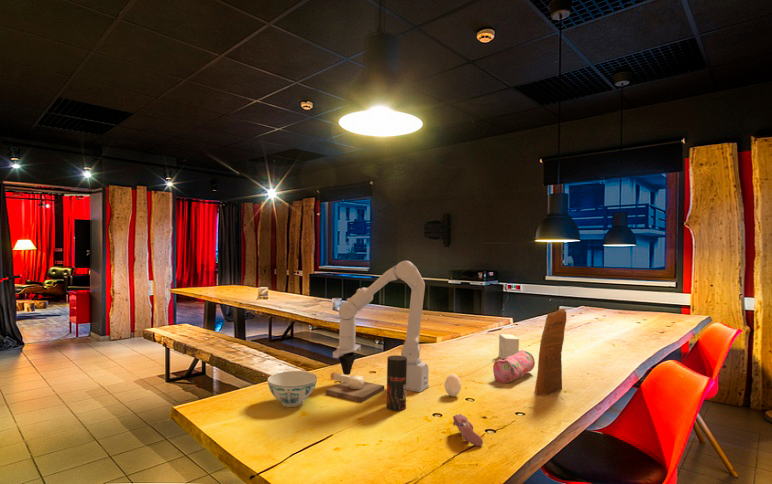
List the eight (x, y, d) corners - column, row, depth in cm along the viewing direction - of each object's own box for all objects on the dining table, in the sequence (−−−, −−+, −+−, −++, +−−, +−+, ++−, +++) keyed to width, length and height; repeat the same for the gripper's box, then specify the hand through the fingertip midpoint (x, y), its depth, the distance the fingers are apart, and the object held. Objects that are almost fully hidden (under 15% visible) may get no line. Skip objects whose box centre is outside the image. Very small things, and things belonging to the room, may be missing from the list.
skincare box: (519, 363, 186) (519, 338, 186) (504, 362, 186) (504, 338, 187) (512, 357, 197) (512, 334, 197) (498, 356, 197) (498, 333, 197)
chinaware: (325, 398, 138) (325, 374, 138) (301, 415, 124) (301, 388, 124) (284, 392, 143) (284, 369, 143) (256, 407, 128) (257, 381, 129)
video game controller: (458, 436, 115) (447, 413, 115) (473, 428, 115) (462, 405, 115) (468, 454, 105) (456, 428, 105) (485, 445, 106) (473, 419, 105)
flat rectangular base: (384, 390, 147) (384, 385, 147) (362, 402, 135) (362, 397, 135) (350, 383, 154) (350, 378, 154) (326, 394, 142) (326, 389, 142)
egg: (443, 397, 141) (443, 374, 141) (446, 392, 146) (446, 370, 146) (459, 399, 139) (459, 376, 139) (462, 394, 144) (462, 372, 144)
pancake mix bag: (572, 387, 154) (573, 308, 154) (546, 399, 141) (547, 313, 141) (554, 382, 159) (555, 306, 159) (527, 393, 146) (528, 311, 146)
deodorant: (404, 411, 128) (405, 360, 128) (384, 409, 129) (385, 359, 129) (407, 404, 133) (408, 356, 134) (388, 403, 135) (389, 354, 135)
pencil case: (513, 386, 154) (513, 361, 154) (489, 381, 160) (490, 356, 160) (536, 374, 170) (537, 351, 170) (514, 369, 176) (515, 347, 176)
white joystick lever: (366, 385, 145) (366, 376, 145) (358, 390, 141) (358, 380, 141) (336, 379, 151) (336, 371, 151) (327, 383, 147) (327, 374, 147)
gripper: (349, 331, 162) (348, 367, 162) (326, 338, 149) (325, 377, 149) (365, 333, 159) (364, 370, 158) (342, 340, 146) (341, 380, 146)
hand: (346, 374), depth 154 cm, fingers closed
